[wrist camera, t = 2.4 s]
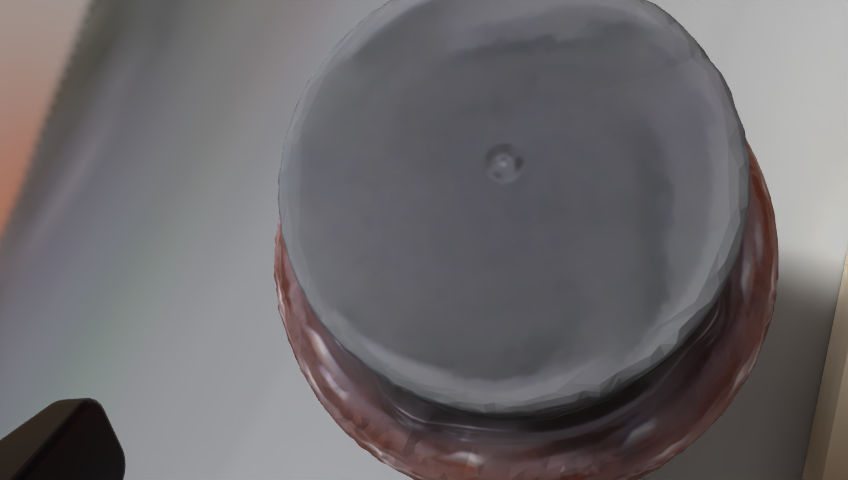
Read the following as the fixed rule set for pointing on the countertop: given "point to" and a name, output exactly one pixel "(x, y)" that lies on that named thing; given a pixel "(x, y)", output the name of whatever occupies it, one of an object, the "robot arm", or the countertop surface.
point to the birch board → (832, 402)
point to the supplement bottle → (523, 239)
